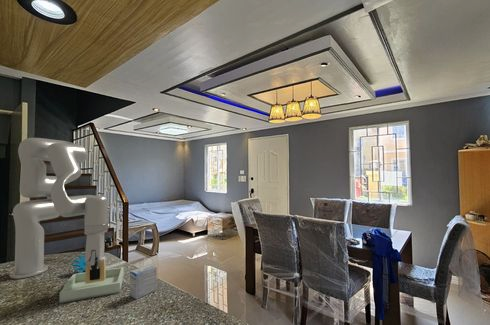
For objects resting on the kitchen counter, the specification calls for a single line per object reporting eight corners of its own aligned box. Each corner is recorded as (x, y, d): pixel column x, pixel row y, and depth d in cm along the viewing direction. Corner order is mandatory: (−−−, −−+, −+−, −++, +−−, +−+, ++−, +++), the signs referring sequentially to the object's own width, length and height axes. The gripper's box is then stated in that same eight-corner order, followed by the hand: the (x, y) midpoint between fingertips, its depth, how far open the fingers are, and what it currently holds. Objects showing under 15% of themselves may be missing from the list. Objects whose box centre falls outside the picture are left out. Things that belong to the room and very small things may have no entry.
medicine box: (149, 287, 91) (149, 264, 91) (156, 290, 88) (157, 266, 88) (129, 296, 84) (129, 271, 84) (136, 299, 82) (136, 274, 82)
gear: (72, 274, 99) (73, 252, 105) (69, 282, 101) (71, 260, 108) (103, 270, 106) (102, 250, 112) (99, 277, 109) (99, 257, 115)
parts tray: (73, 283, 95) (73, 274, 95) (124, 275, 102) (124, 266, 102) (59, 303, 80) (59, 292, 80) (119, 292, 87) (119, 282, 87)
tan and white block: (87, 279, 91) (87, 258, 92) (105, 277, 94) (105, 256, 94) (85, 283, 88) (85, 261, 88) (104, 280, 90) (104, 259, 91)
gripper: (89, 225, 98) (89, 271, 97) (78, 234, 83) (78, 288, 82) (110, 223, 101) (110, 267, 100) (103, 232, 85) (103, 284, 85)
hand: (95, 276), depth 91 cm, fingers closed on tan and white block, 3 cm apart
